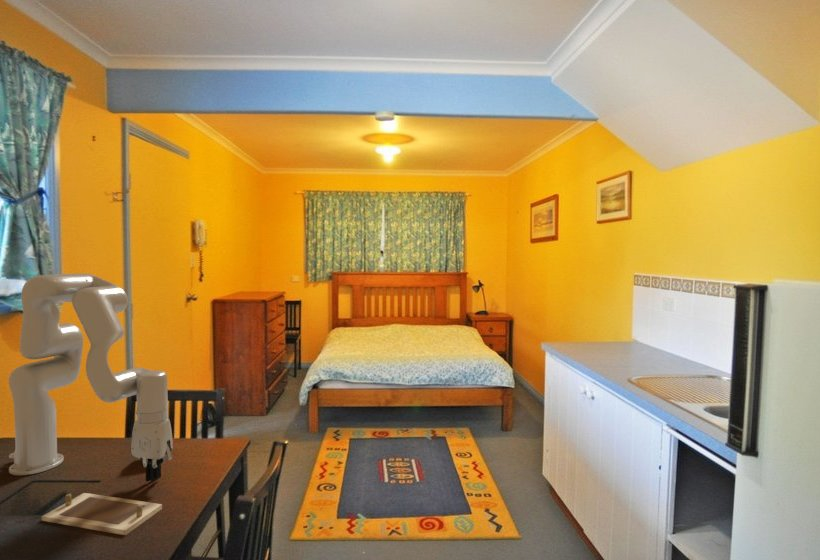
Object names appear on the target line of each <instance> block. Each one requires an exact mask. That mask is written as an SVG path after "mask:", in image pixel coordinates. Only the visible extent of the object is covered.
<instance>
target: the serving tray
mask: <svg viewBox="0 0 820 560" xmlns="http://www.w3.org/2000/svg"><path fill="white" fill-rule="evenodd" d="M64 498H65V503H64V504H62V505H59V506H58V507H56V508H54V509H52V510H50V511H48V512H47V513H45V514H44V515H41V521H42V522H48V523H53V524H54V523H55V524H60V525H65V526H70V527H71V526H72V527H77V528H82V529H88V530H93V531H94V530H95V531H99V532H106V533H109V534H115V535H122V536H127V535H129V534H130V533H131V532H132V531H134V530H135V529H137V528H138V527H139V526H140V525H142V524H143V523H145V522H146V521H147V520H149V519H151V517H153V516H155V515H156V514H157V513H158V512H160V511H162V509H163V504H162V503H155V502H148V501H141V500H135V499H128V498H122V497H114V496H108V495H102V494H94V493H88V492H83V493H81V494H79V495H77V496H75V497H74V498H72V493H68V494H65V497H64Z"/></svg>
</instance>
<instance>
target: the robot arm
mask: <svg viewBox="0 0 820 560" xmlns="http://www.w3.org/2000/svg"><path fill="white" fill-rule="evenodd" d="M20 293H21V296H20V297H21V304H22V319H21V328H20V338H19V352H20V354H21V356H22V357H23V358H24V359H28V360H38V361H33V362H29V363H25V364H22V365H19V366H17V367H16V368H14V369H13V370H12V372H11V373H10V374H9V377H8V386H9V389H10V393H11V396H12V401H13V412H14V413H13V414H14V415H13V416H14V417H13V418H14V436H15V437H14V443H15V444H14V445H15V450H14V451H13V452H12V453H10V454H9V455H8V458H9V459H13V461H14V463H12V464H11V465H10V466H9V468H8V473H9V474H11V475H12V476H27V475H29V476H30V475H35V474H39V473H42V472H45V471H49V470H52V469H54V468H56V467H57V466H60V464H62V463H63V461H64V458H65V456H64V455H63V454H62V453H58V435H57V434H58V433H57V431H58V429H57V406H56V402H55V401H54V399H53V398H52V397H51V396H50V395H49V393H48V392H49V391H52V390H55V389H59V388H63V387H66V386H68V385H71V384H73V383H74V382H75V381H77V379H78V377H79V375H80V371H81V366H82V365H81V364H82V358H83V357H82V356H83V349H84V336H83V333H82V331H81V329H80V328H79V326H77V325H76V324H73V323H70V322H69V323H68V322H67V323H66V322H65V323H63V322H62V323H60V321H61V320H60V319H61V312H60V310H59V308H58V306H57V304H63V303H64V304H65V303H72V307H73V309H74V311H75V313H76V316H77V318H78V320H79V322H80V325H81V326H82V328H83V331H84V332H85V335H86V336H87V339H88V341H89V343H90V348H89V351H88V353H87V357H86V361H85V373H86V376H87V380H88V382H89V384H90V387H91V388H92V390H93V392H94V393H95V395H96V396H97V397H98V398H99V400H100V401H102V402H105V403H115V402H119V401H121V400H125V399H127V398H130V397H132V396H136V409H135V412H134V413H135V416H136V420H135V421H134V424H133V427H132V434H131V444H130V445H131V447H130V449H131V453H132V454H131V455H132V456H133V457H135V458H137V459H139V460H140V459H141V460H140V461H141V462H142V465H143V468H145V482H151V483H154V482H156V481H158V480H159V479H161V477H162V465H163V464H164V463H165V462H169V461H170V460H172V459H173V457H172V452H173V448H174V446H173V444H174V441H173V433H172V432H173V431H172V430H173V429H172V426H171V425H172V424H171V420H170V418H169V412H168V411H169V410H168V409H169V408H168V407H169V406H168V405H169V404H168V403H169V402H168V401H169V399H168V396H169V394H168V388H169V387H168V374H167V372H166V371H163V370H150V369H148V368H145V367H142V366H141V367H140V366H137V367H132V368H129V369H124V370H121V371H117V372H114V373H113V372H112V371H113V370H111V367H110V364H109V359H108V355H109V352H110V349H111V347H112V346H113V345H114V344H115V343H117V342H118V341H119V340H121V339H122V338H123V336H124V335H125V330H124V327H123V325H122V323H121V321H120V320H119V316H118V315H117V314H118V313H122V312H124V311H125V310H126V309H127V308H128V305H129V297H128V295H127V293H126V291H125V290H124V289H123V288H121V287H120V286H118V285H116V284H115V283H112V282H110V281H108V280H106V279H103V278H101V277H99V276H97V275H94V274H91V273H55V274H53V273H52V274H51V273H50V274H42V275H36V276H33V277H31V278H30V279H28V280H26V282H25V283H24V285H23V286H22V288H21V292H20ZM51 357H52V358H51ZM41 359H43V360H41Z"/></svg>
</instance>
